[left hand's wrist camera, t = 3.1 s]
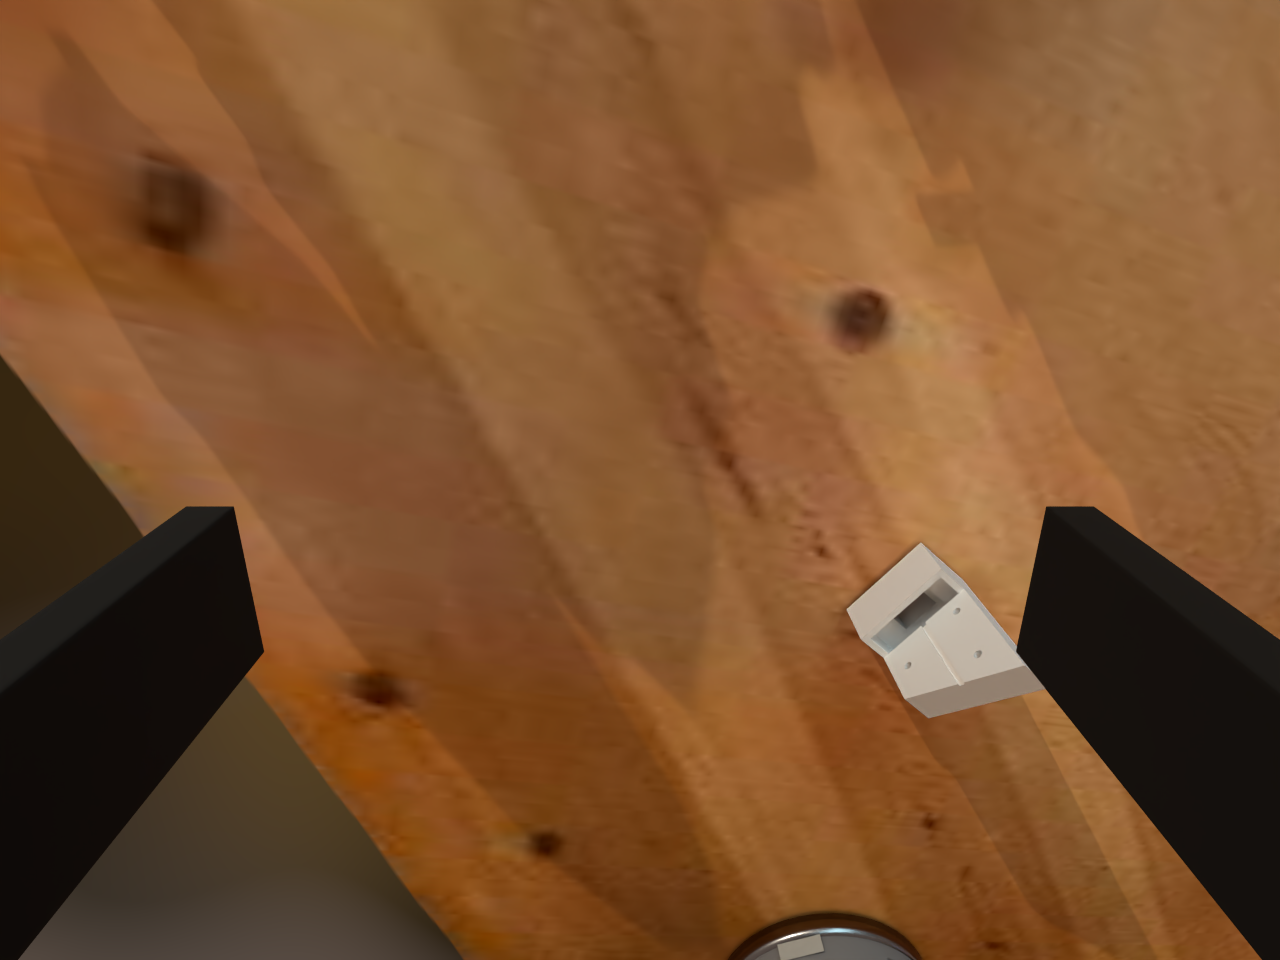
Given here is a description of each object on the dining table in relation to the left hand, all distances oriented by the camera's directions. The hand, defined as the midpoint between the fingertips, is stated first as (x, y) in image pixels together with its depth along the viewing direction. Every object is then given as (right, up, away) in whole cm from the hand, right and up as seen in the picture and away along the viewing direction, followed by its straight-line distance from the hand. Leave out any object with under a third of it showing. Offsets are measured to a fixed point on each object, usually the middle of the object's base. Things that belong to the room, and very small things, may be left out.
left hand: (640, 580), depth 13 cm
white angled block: (+15, -5, +32) cm, 36 cm away
